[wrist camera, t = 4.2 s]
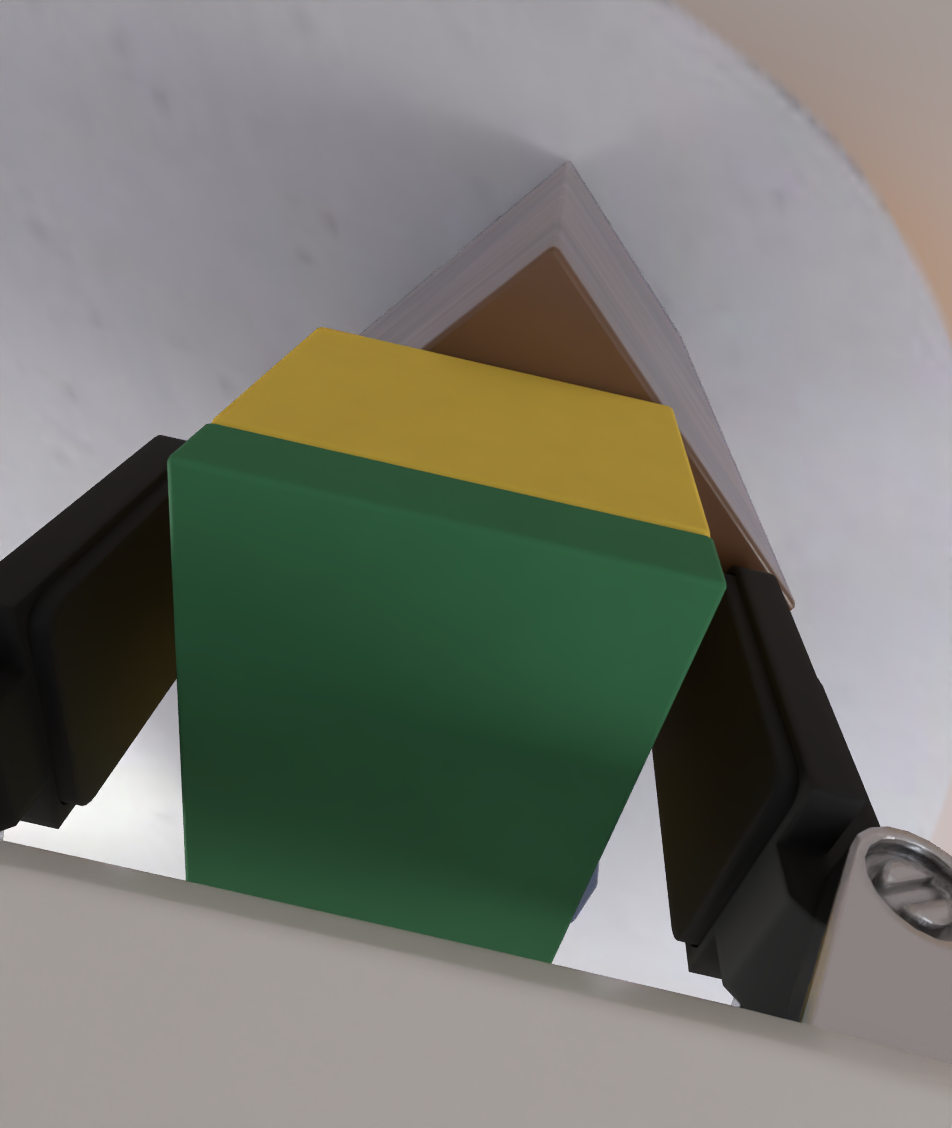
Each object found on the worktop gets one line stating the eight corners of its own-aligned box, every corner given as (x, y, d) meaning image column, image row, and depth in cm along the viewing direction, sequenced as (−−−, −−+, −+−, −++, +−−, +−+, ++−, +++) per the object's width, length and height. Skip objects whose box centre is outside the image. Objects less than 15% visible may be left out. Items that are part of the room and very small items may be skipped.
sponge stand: (569, 159, 20) (554, 243, 8) (682, 338, 22) (798, 609, 10) (358, 335, 23) (132, 576, 11) (475, 476, 25) (384, 801, 14)
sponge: (318, 323, 9) (163, 456, 6) (675, 405, 9) (730, 585, 6) (289, 722, 13) (186, 944, 9) (540, 780, 13) (527, 1020, 9)
